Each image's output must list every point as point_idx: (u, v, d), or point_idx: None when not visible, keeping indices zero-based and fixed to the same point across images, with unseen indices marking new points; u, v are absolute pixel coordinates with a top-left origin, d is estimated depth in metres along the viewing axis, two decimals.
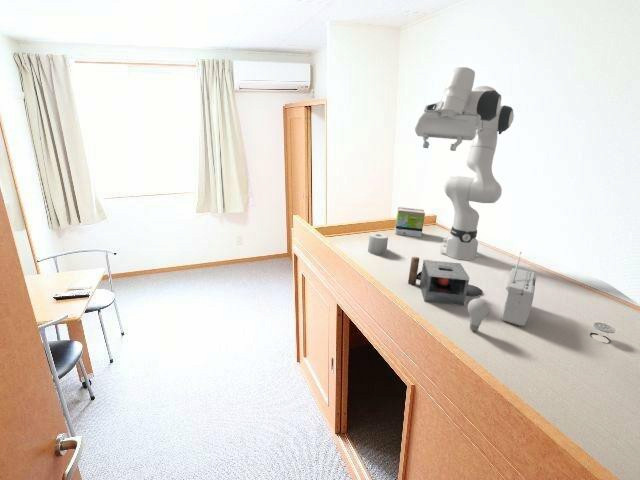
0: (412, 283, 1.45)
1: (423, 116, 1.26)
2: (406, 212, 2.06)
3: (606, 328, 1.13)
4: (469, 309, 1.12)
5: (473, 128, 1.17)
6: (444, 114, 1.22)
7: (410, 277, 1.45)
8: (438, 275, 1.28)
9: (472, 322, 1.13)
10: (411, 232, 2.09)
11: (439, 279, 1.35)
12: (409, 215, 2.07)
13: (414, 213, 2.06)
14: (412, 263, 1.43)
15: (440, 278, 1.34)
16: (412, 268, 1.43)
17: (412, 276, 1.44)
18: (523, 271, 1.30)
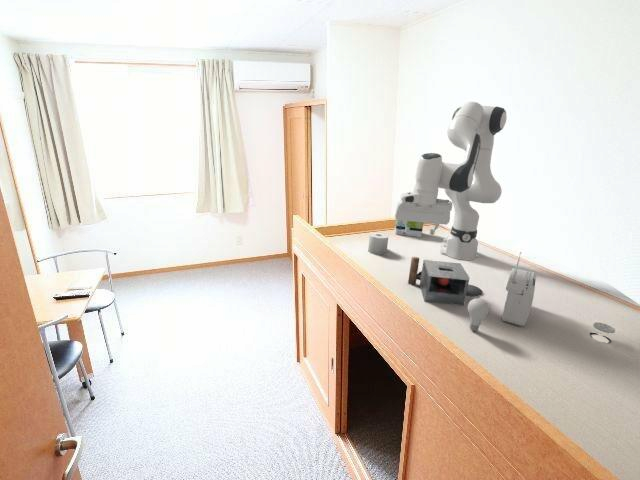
0: (412, 283, 1.45)
1: (402, 206, 1.35)
2: None
3: (606, 328, 1.13)
4: (469, 309, 1.12)
5: (448, 218, 1.35)
6: (422, 206, 1.34)
7: (410, 277, 1.45)
8: (438, 275, 1.28)
9: (472, 322, 1.13)
10: (411, 232, 2.09)
11: (439, 279, 1.35)
12: None
13: None
14: (412, 263, 1.43)
15: (440, 278, 1.34)
16: (412, 268, 1.43)
17: (412, 276, 1.44)
18: (523, 271, 1.30)
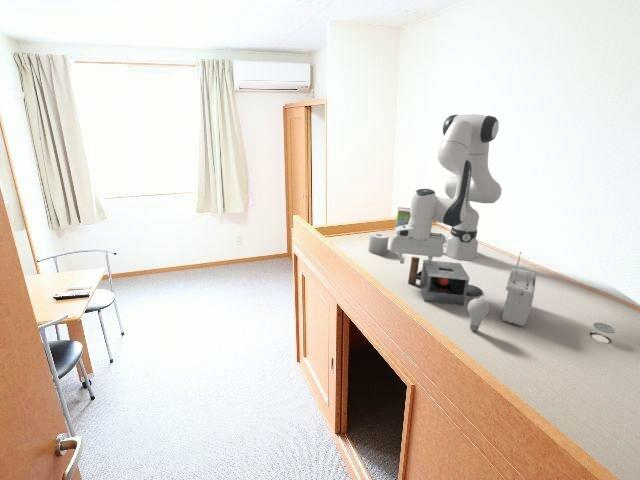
0: (412, 283, 1.45)
1: (397, 239, 1.40)
2: (406, 212, 2.06)
3: (606, 328, 1.13)
4: (469, 309, 1.12)
5: (442, 251, 1.39)
6: (416, 240, 1.38)
7: (410, 277, 1.45)
8: (438, 275, 1.28)
9: (472, 322, 1.13)
10: None
11: (439, 279, 1.35)
12: (409, 215, 2.07)
13: None
14: (412, 263, 1.43)
15: (440, 278, 1.34)
16: (412, 268, 1.43)
17: (412, 276, 1.44)
18: (523, 271, 1.30)
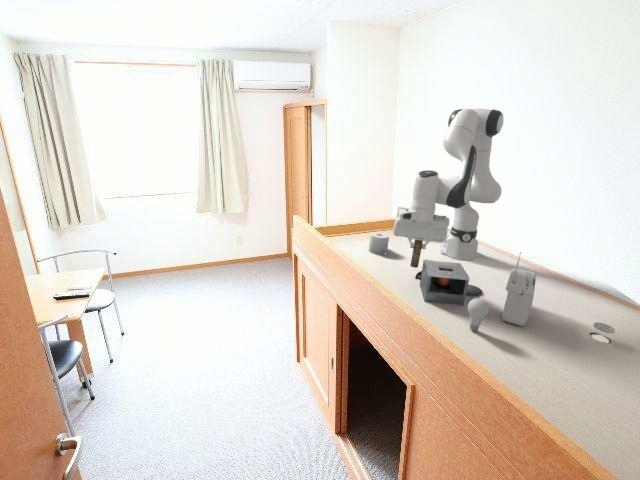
0: (414, 266, 1.43)
1: (400, 222, 1.38)
2: None
3: (606, 328, 1.13)
4: (469, 309, 1.12)
5: (446, 233, 1.37)
6: (420, 223, 1.36)
7: (413, 259, 1.43)
8: (438, 275, 1.28)
9: (472, 322, 1.13)
10: None
11: (439, 279, 1.35)
12: None
13: None
14: (415, 245, 1.41)
15: (440, 278, 1.34)
16: (415, 251, 1.41)
17: (414, 259, 1.42)
18: (523, 271, 1.30)
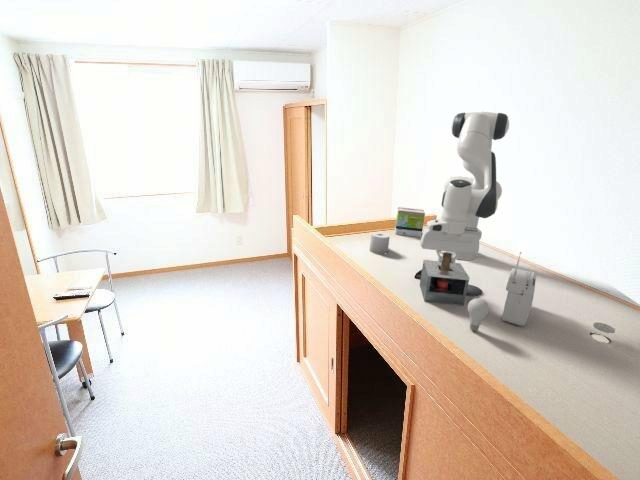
0: (443, 280, 1.34)
1: (429, 234, 1.29)
2: (406, 212, 2.06)
3: (606, 328, 1.13)
4: (469, 309, 1.12)
5: (478, 247, 1.29)
6: (450, 235, 1.27)
7: None
8: (438, 275, 1.28)
9: (472, 322, 1.13)
10: (411, 232, 2.09)
11: (438, 284, 1.36)
12: (409, 215, 2.07)
13: (414, 213, 2.06)
14: (444, 259, 1.32)
15: (439, 283, 1.35)
16: (444, 264, 1.33)
17: None
18: (523, 271, 1.30)
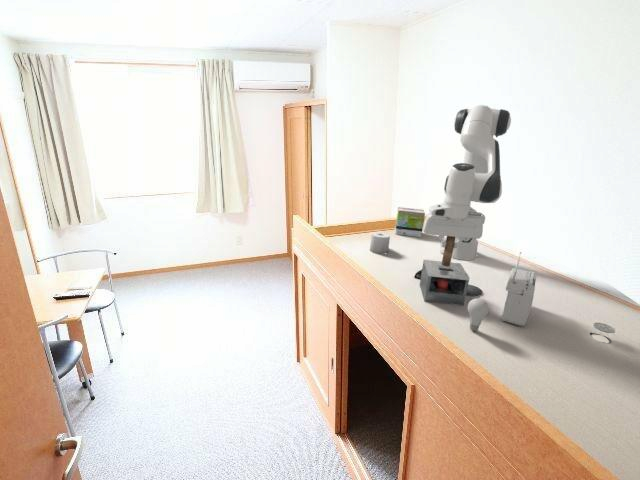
0: (446, 264, 1.33)
1: (431, 219, 1.27)
2: (406, 212, 2.06)
3: (606, 328, 1.13)
4: (469, 309, 1.12)
5: (481, 232, 1.27)
6: (454, 220, 1.26)
7: (444, 258, 1.33)
8: (438, 275, 1.28)
9: (472, 322, 1.13)
10: (411, 232, 2.09)
11: (438, 284, 1.36)
12: (409, 215, 2.07)
13: (414, 213, 2.06)
14: (447, 242, 1.31)
15: (439, 283, 1.35)
16: (447, 248, 1.31)
17: (446, 257, 1.32)
18: (523, 271, 1.30)
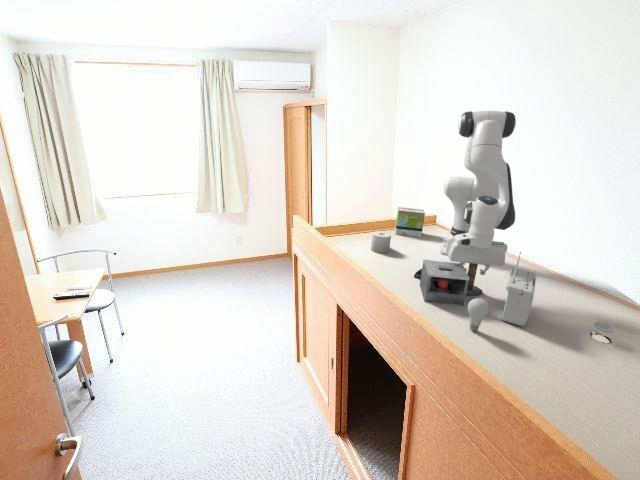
0: (469, 289, 1.41)
1: (457, 248, 1.36)
2: (406, 212, 2.06)
3: (606, 328, 1.13)
4: (469, 309, 1.12)
5: (504, 260, 1.36)
6: (478, 249, 1.35)
7: None
8: (438, 275, 1.28)
9: (472, 322, 1.13)
10: (411, 232, 2.09)
11: (438, 284, 1.36)
12: (409, 215, 2.07)
13: (414, 213, 2.06)
14: (470, 268, 1.39)
15: (439, 283, 1.35)
16: (470, 274, 1.40)
17: (469, 282, 1.41)
18: (523, 271, 1.30)
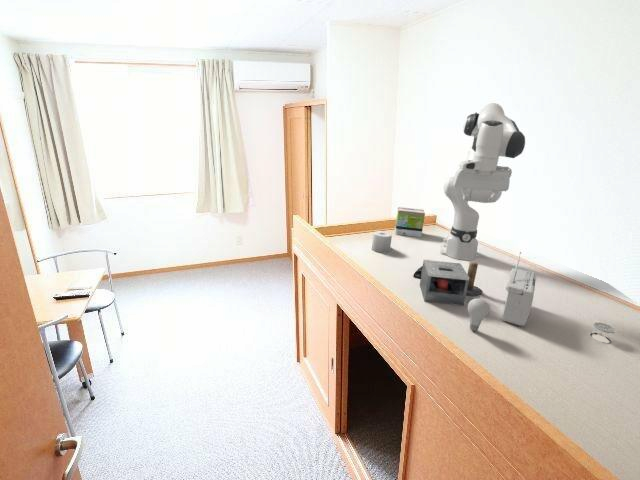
0: (469, 289, 1.41)
1: (462, 173, 1.38)
2: (406, 212, 2.06)
3: (606, 328, 1.13)
4: (469, 309, 1.12)
5: (508, 184, 1.38)
6: (483, 173, 1.37)
7: None
8: (438, 275, 1.28)
9: (472, 322, 1.13)
10: (411, 232, 2.09)
11: (438, 284, 1.36)
12: (409, 215, 2.07)
13: (414, 213, 2.06)
14: (470, 268, 1.39)
15: (439, 283, 1.35)
16: (470, 274, 1.40)
17: (469, 282, 1.41)
18: (523, 271, 1.30)
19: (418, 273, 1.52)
